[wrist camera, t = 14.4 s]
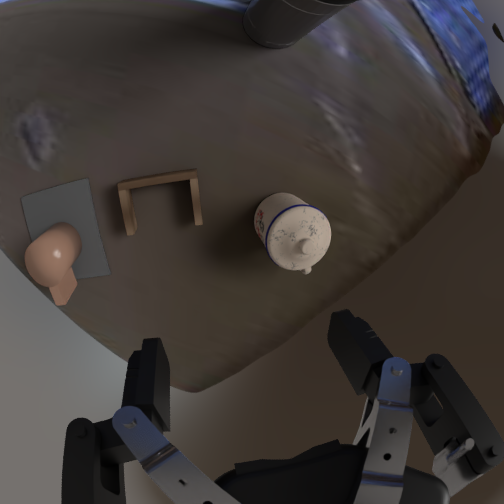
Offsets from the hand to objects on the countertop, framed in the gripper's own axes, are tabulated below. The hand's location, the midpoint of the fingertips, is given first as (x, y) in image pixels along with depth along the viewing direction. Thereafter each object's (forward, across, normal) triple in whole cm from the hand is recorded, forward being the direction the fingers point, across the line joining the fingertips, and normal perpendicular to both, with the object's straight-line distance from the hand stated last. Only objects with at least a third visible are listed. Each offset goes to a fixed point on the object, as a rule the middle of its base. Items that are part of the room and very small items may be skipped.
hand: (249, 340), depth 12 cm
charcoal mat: (+30, +25, +4) cm, 39 cm away
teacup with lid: (+30, -11, +7) cm, 33 cm away
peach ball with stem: (+29, +25, +6) cm, 39 cm away
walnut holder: (+30, +7, 0) cm, 31 cm away
